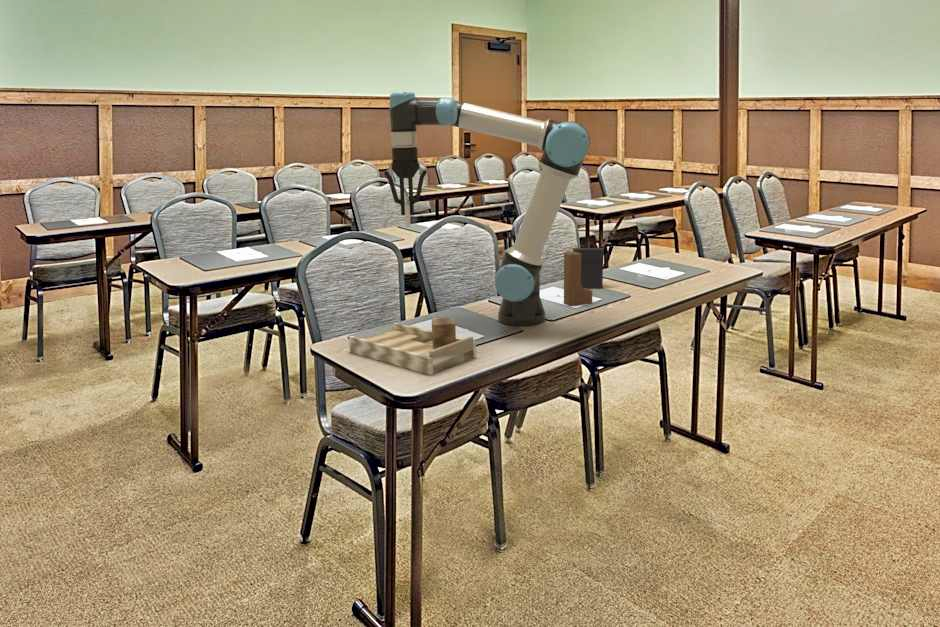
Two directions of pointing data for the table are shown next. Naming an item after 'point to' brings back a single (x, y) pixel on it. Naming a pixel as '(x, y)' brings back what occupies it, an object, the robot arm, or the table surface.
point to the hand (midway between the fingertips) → (408, 226)
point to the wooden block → (574, 281)
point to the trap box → (413, 349)
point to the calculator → (591, 267)
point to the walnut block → (443, 332)
